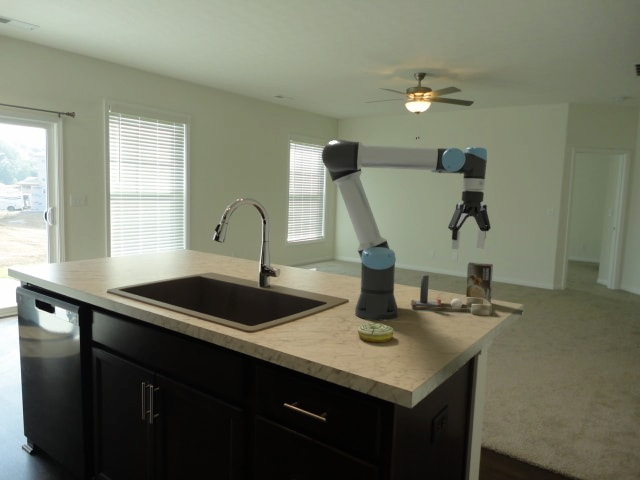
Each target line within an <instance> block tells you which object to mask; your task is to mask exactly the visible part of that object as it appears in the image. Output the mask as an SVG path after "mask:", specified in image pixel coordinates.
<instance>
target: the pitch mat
mask: <svg viewBox="0 0 640 480" xmlns="http://www.w3.org/2000/svg"><path fill="white" fill-rule="evenodd" d="M410 308H411V310H412V311H413V312H424V313H425V312H427V313H446V314H450V313H451V314H461V315H462V314H463V315H464V314H465V315H472V314H471V313H469V312H450V311H431V310H413V309H412V305H411V304H410ZM448 308H452V307H448ZM467 309H471V307H467Z"/></svg>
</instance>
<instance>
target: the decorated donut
mask: <svg viewBox="0 0 640 480" xmlns="http://www.w3.org/2000/svg"><path fill="white" fill-rule="evenodd" d="M394 334H395V331H394V328H393V327H392V326H389V325H387V324H383V323H378V322H375V323H373V322H371V323H369V322H368V323H363V324H360V326H359V327H358V328H357V335H358V336H359V338H361V340H364V341H365V340H366V341H365V342H369V341H371V342H370V343H376V342H380V343H386V342H389V341H390V340H391V339H392V338H393V336H394Z"/></svg>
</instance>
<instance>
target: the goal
mask: <svg viewBox="0 0 640 480" xmlns="http://www.w3.org/2000/svg"><path fill="white" fill-rule="evenodd" d="M465 304H467V307H471V314H470V315H480V316H483V315H484V316H485V315H486V316H492V315H493V305H492V303H491V304H490V303H489V302H488V301H487V300H486V299H485V298H474V297H466V296H465Z"/></svg>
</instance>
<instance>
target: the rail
mask: <svg viewBox="0 0 640 480" xmlns="http://www.w3.org/2000/svg"><path fill="white" fill-rule="evenodd" d="M415 301H416V300H415V299H411V303H410V306H411V305H412V307H411V310H412V309H413V310H431V311H450V312H469V313H471V309H467V304H466V303H462V307H461V308H448V307H452V306H451V302H450V303H449V302H441V307H428V306H416V305H415Z"/></svg>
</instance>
